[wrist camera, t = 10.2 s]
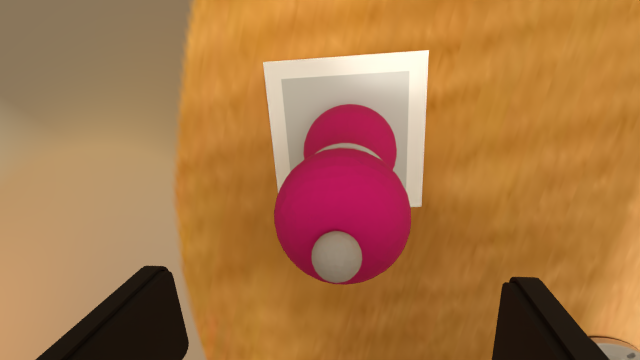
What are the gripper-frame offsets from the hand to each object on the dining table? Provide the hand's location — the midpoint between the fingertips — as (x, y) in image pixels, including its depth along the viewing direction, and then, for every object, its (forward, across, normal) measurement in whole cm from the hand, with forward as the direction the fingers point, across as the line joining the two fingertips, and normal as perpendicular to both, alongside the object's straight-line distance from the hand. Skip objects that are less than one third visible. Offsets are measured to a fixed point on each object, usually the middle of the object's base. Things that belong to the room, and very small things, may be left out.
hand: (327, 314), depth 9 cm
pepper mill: (+22, 0, -1) cm, 22 cm away
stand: (+25, +1, -1) cm, 25 cm away
